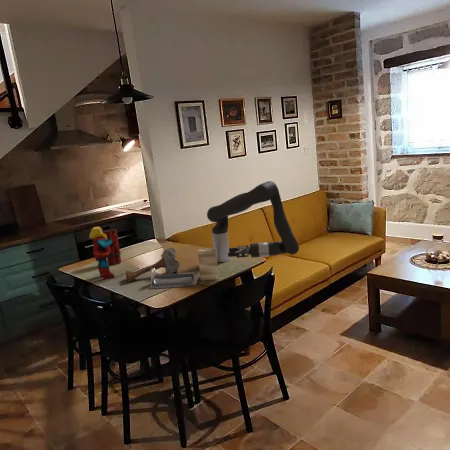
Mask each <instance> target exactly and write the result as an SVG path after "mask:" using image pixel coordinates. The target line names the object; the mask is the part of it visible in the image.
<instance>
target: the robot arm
mask: <svg viewBox="0 0 450 450" xmlns="http://www.w3.org/2000/svg"><path fill="white" fill-rule="evenodd" d="M268 201H270V203H271V205H272V210H273V224H274V227H275V229H276V231H277V234H278V236H279V238H281V241H270V242H266V241H265V242H253V243H249V244H248V245H238V246H236V247H230V243H229V242H230V241H229V233H228V228H229V216H233V215H237V214H240V213H242V212H244V211H246V210H248V209H250V208H251V207H252V206H255V205H258V204H260V203H264V202H268ZM206 217H207V220H208V221H210V222H212V223H216V224H215V225H214V226H213V227H212V228H211V234H212V242H213V243H212V245H213V248H216V258H217V263H222V262H223V263H225V262H228V261H230V259H231V257H236V258H237V259H239V258H249V256H250V257H251V258H253V259H255V258H264V257H265V258H266V257H270V256H278V255H285V254H289V255H293V256H294V255H296V254H298V252H299V250H300V246H299V243H298V240H297V239H296V237H295V236H294V233H293V231H292V228H291V226H290V223H289V220H288V218H287V216H286V214H285V210H284V206H283V203H282V199H281V194H280V190H279V188H278V185H277V184H276V183H275V182H274V181H271V180H269V181H268V180H267V181H266V182H262V183H260V184H258V185H256V186H255V187H254V188H252V189H251V190H249V191H248V192H247V191H246V192H243V193H239V194H237V195H236V196H233V197H231V198H230V199H228V200H226V201H224V202H223V203H221V204H219V205H215V206H211V207H209V208H208V210H207V212H206Z"/></svg>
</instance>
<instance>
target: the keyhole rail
mask: <svg viewBox="0 0 450 450" xmlns="http://www.w3.org/2000/svg"><path fill="white" fill-rule="evenodd" d="M149 274H150V281H151V283H150V284H151V285H150V286H149V289H150V290H154V289H171V288H184V287H185V288H187V287H188V288H189V287H197V284H198V281H199V278H200V274H195V273H194V272H193V271H191V272H179V273H177V272H174V273H172V274H167V273H163V274H158V275H157V273H156V270H155V268H152V269H151V270H150V271H149Z"/></svg>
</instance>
